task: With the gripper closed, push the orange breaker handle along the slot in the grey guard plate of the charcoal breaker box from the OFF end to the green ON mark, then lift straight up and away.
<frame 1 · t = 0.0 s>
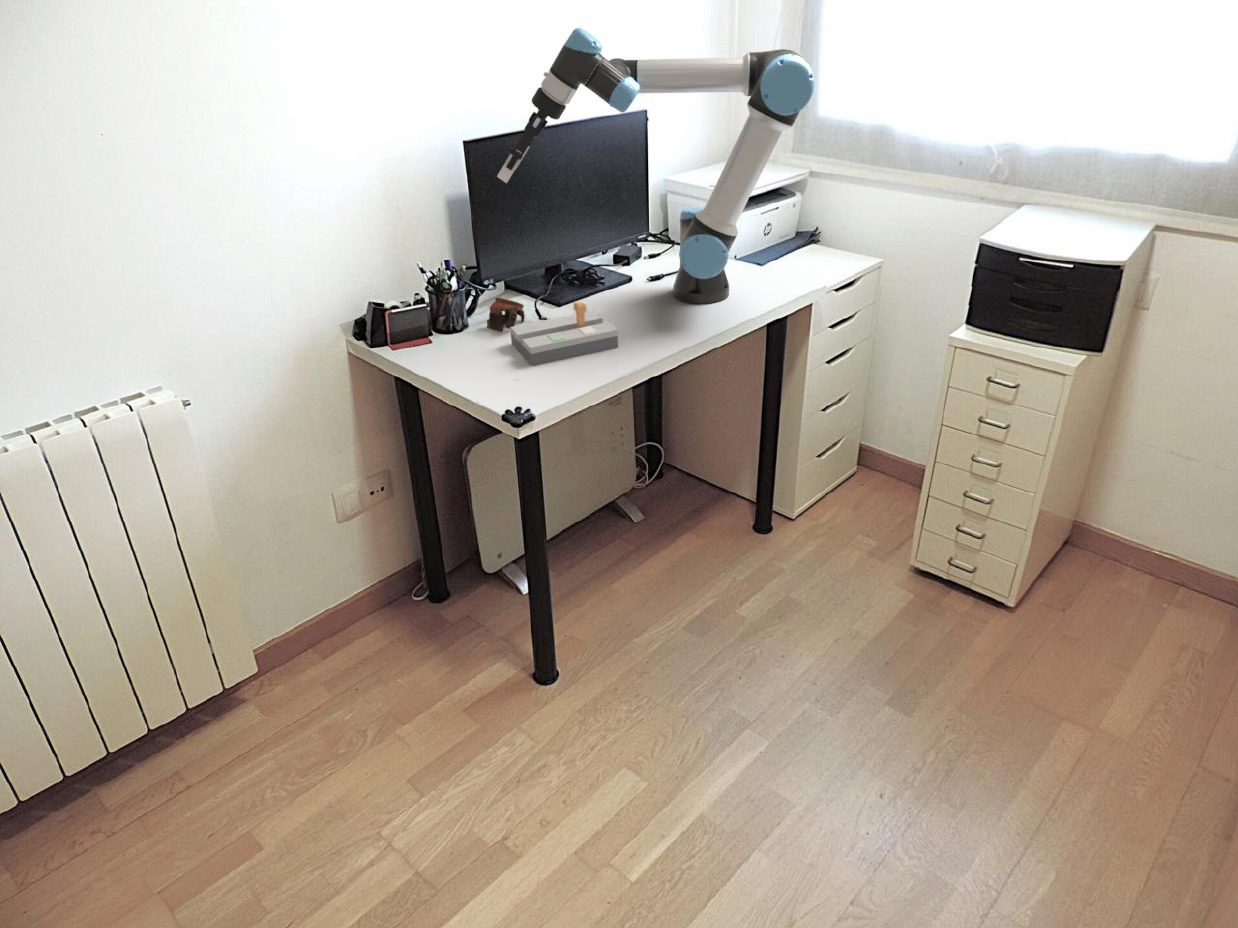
hand: (506, 173, 216), 36 cm above the table, tool tilted 35°, fingers open, 13 cm apart
breaker box: (564, 345, 215), on the table
breaker handle: (580, 316, 213), point 7 cm above the table, slide at 0.0 cm
brown arched block: (507, 327, 227), on the table
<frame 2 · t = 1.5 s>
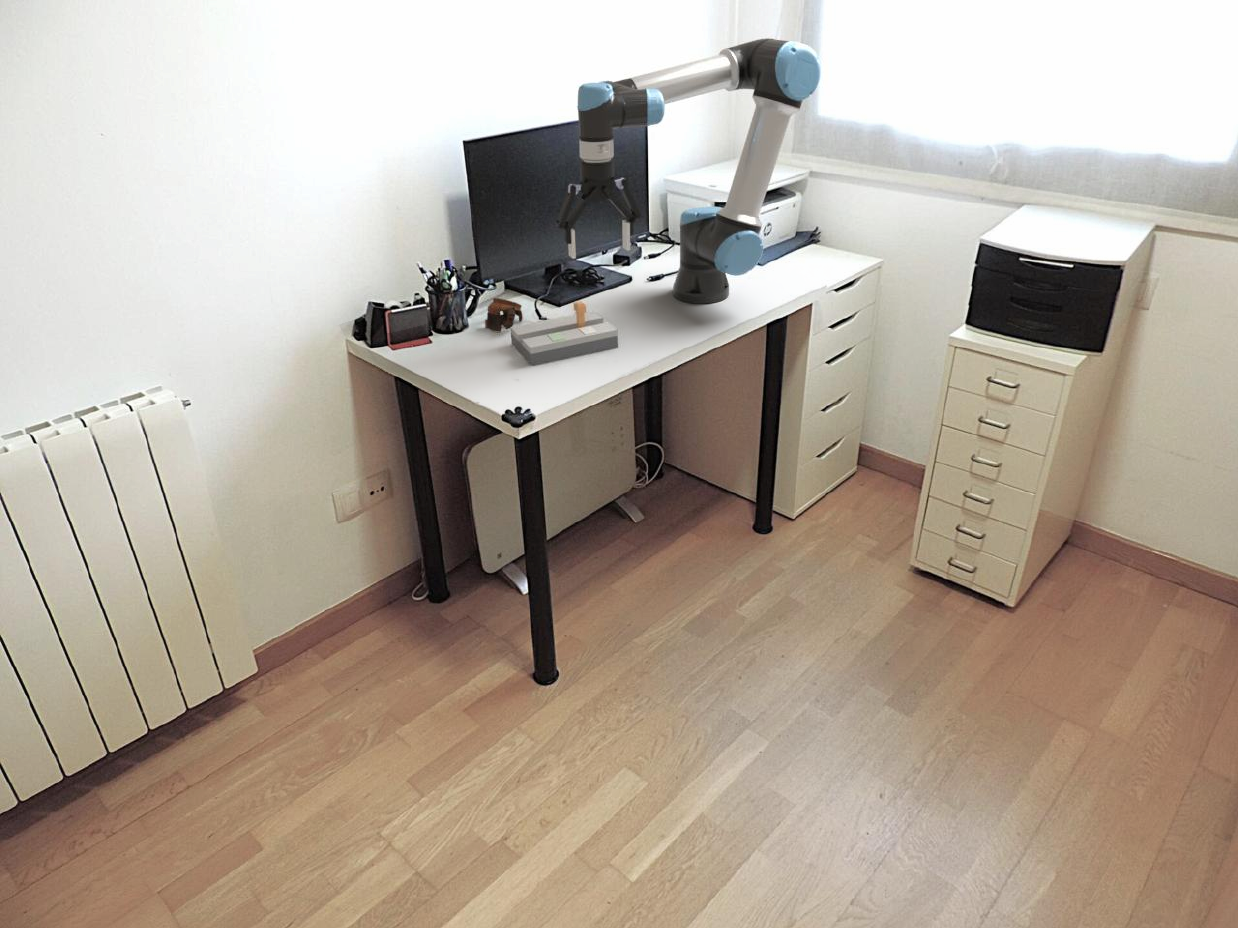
hand: (599, 253, 208), 21 cm above the table, tool pointing down, fingers open, 13 cm apart
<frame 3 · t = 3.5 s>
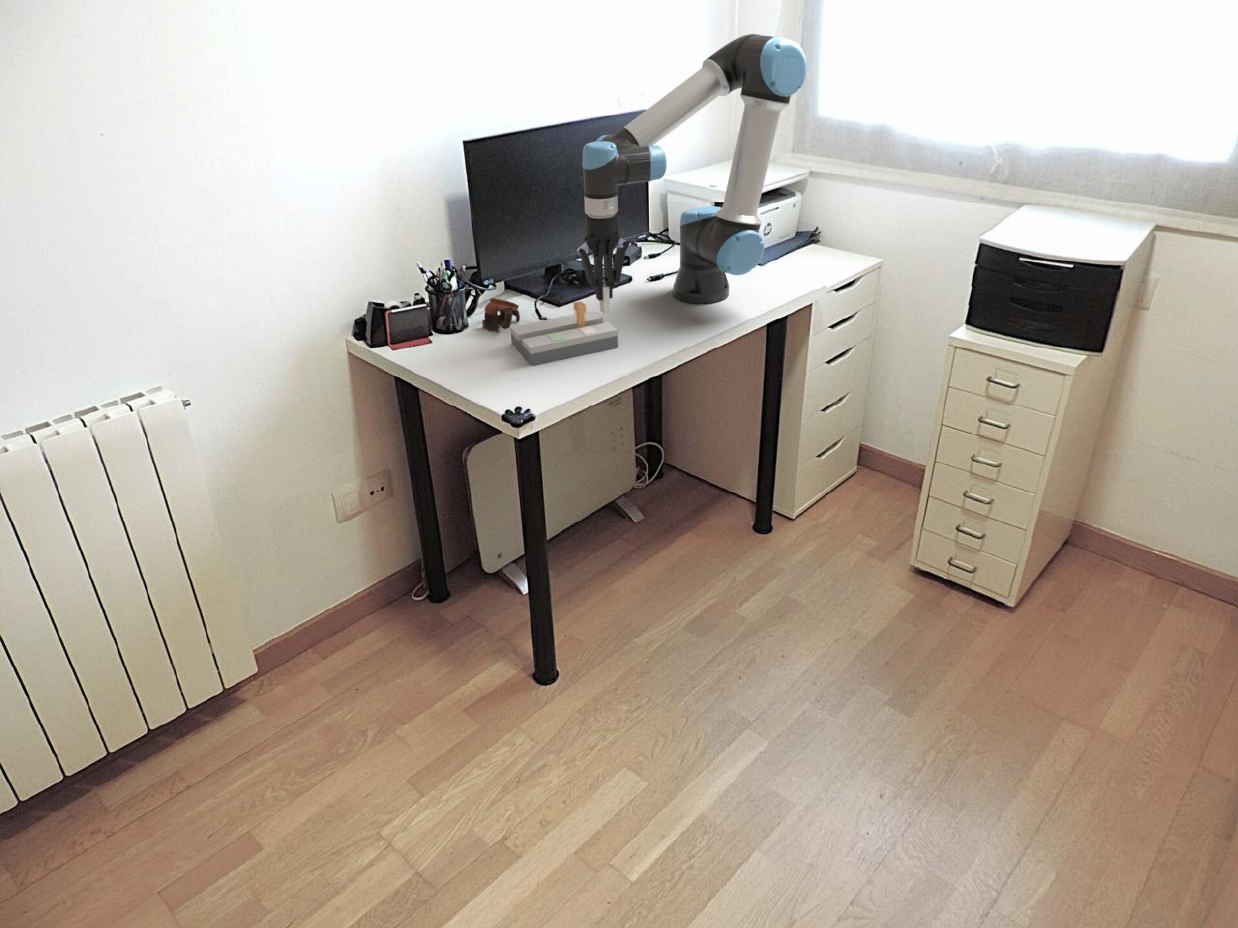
hand: (604, 311, 215), 7 cm above the table, tool pointing down, fingers closed
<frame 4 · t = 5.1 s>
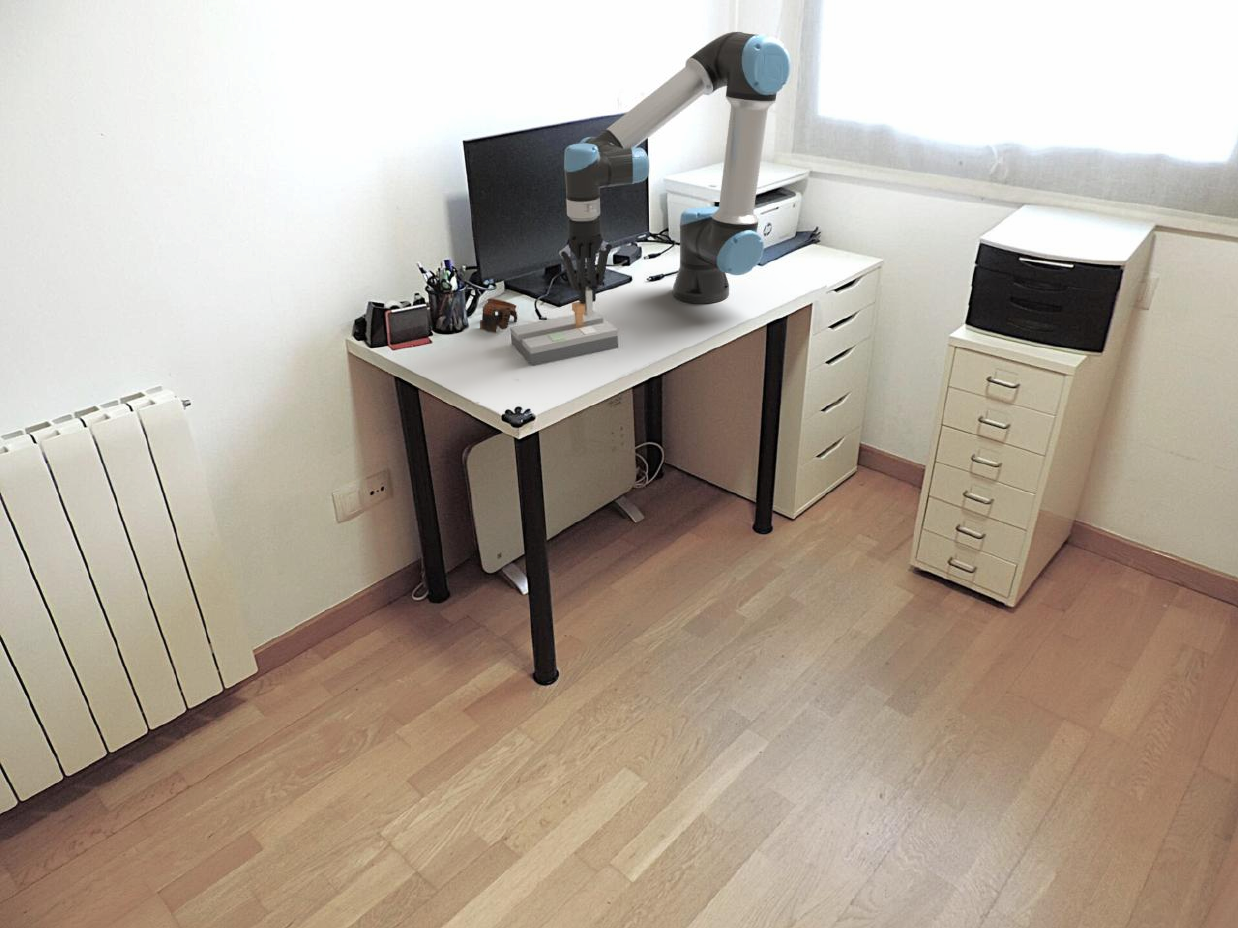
hand: (588, 315, 214), 7 cm above the table, tool pointing down, fingers closed
breaker handle: (578, 316, 213), point 7 cm above the table, slide at 0.4 cm, touching gripper
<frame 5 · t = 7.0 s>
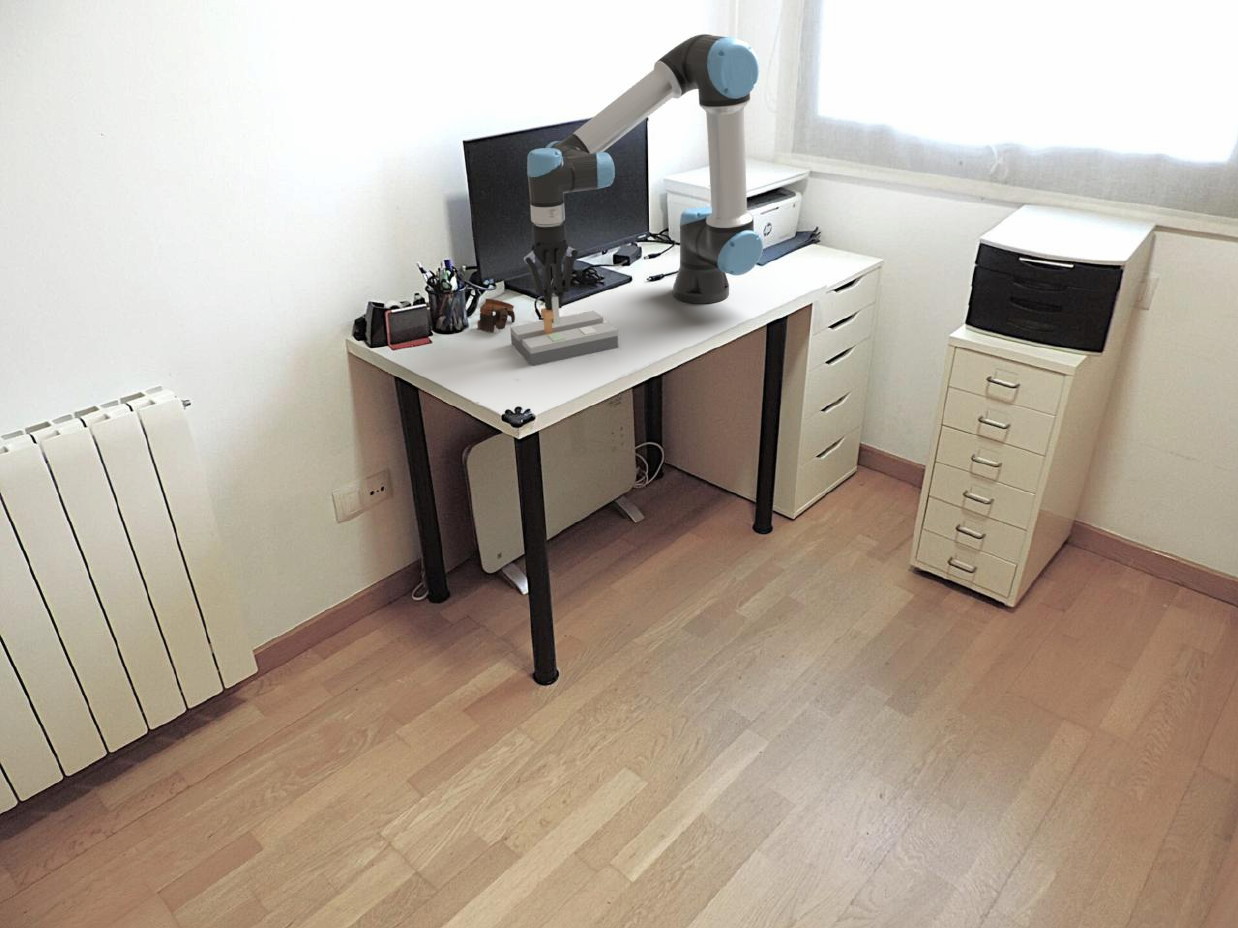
hand: (554, 321, 211), 7 cm above the table, tool pointing down, fingers closed
breaker handle: (547, 323, 210), point 7 cm above the table, slide at 8.3 cm, touching gripper
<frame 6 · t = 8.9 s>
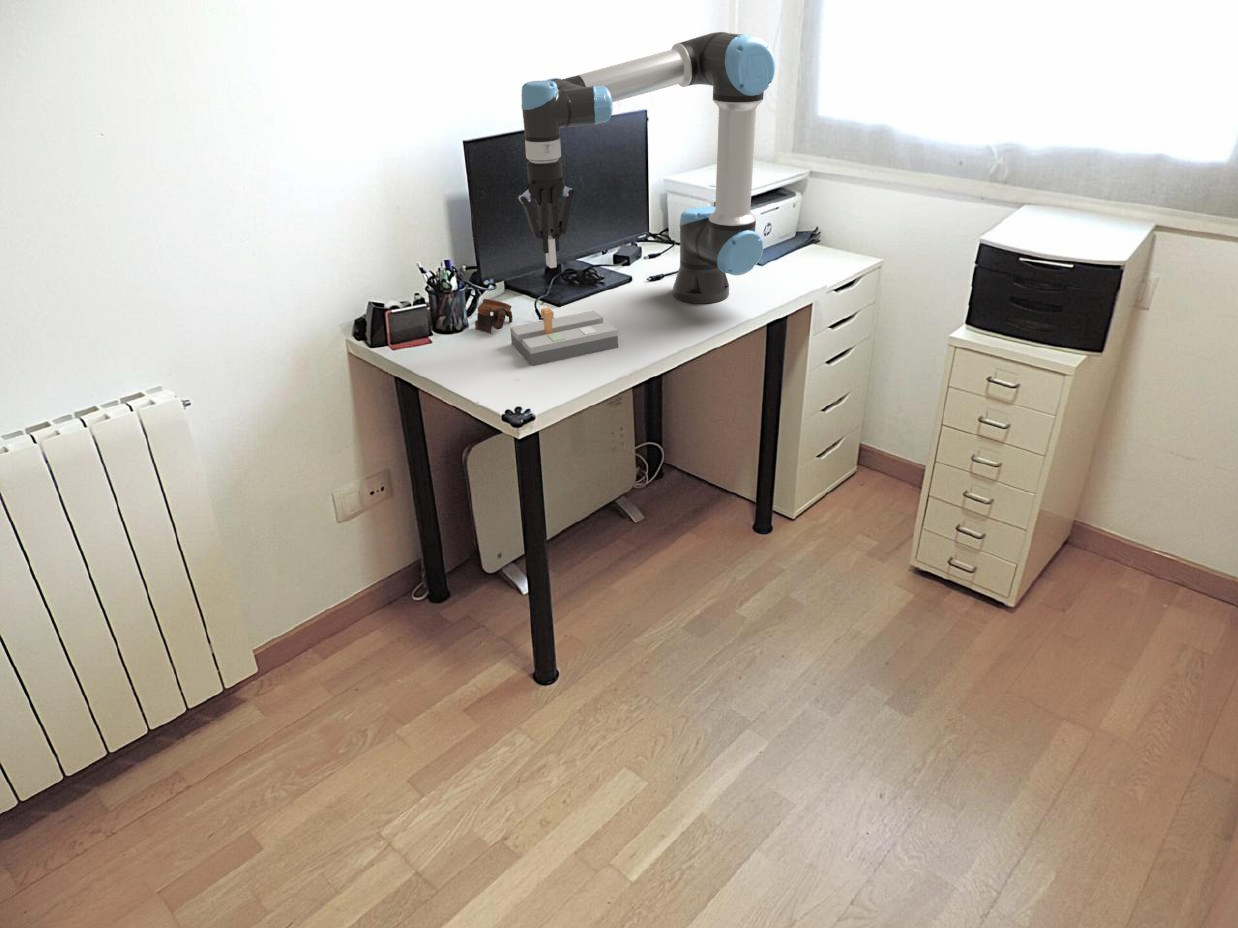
hand: (551, 265, 204), 20 cm above the table, tool pointing down, fingers closed
breaker handle: (547, 323, 210), point 7 cm above the table, slide at 8.3 cm
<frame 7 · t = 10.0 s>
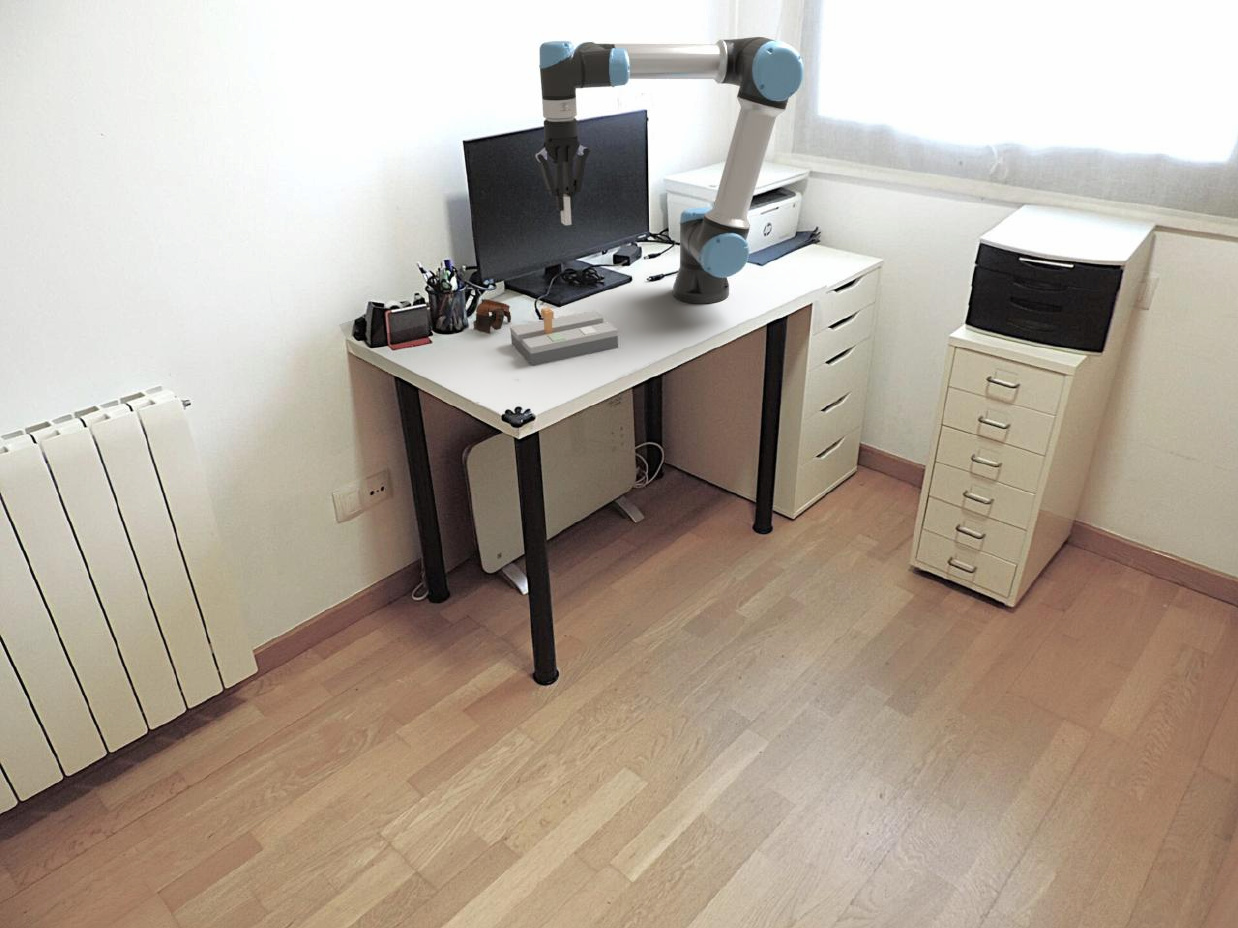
hand: (566, 223, 211), 26 cm above the table, tool pointing down, fingers closed
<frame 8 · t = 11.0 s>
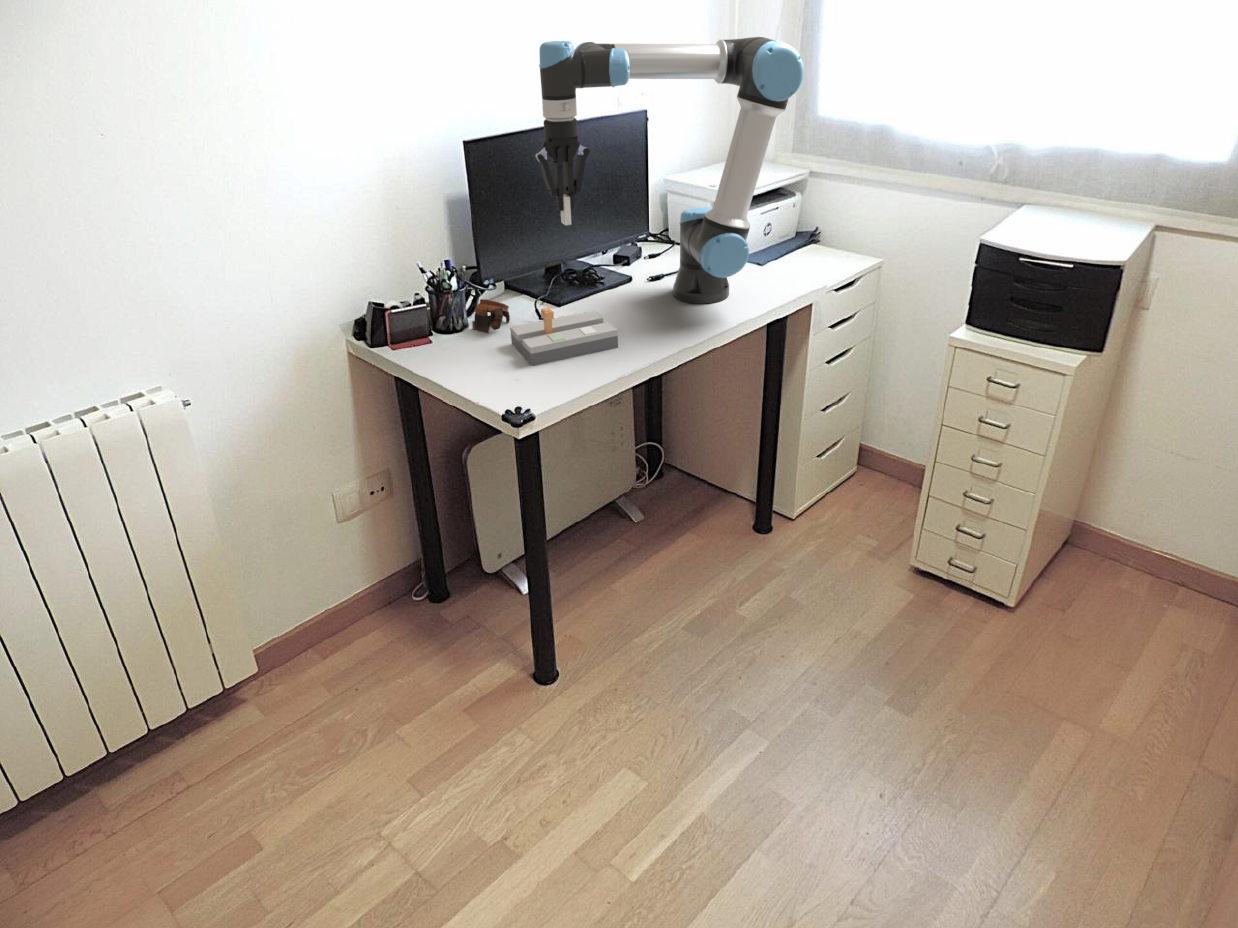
hand: (566, 223, 211), 26 cm above the table, tool pointing down, fingers closed
at the end: breaker handle slide at 8.3 cm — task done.
